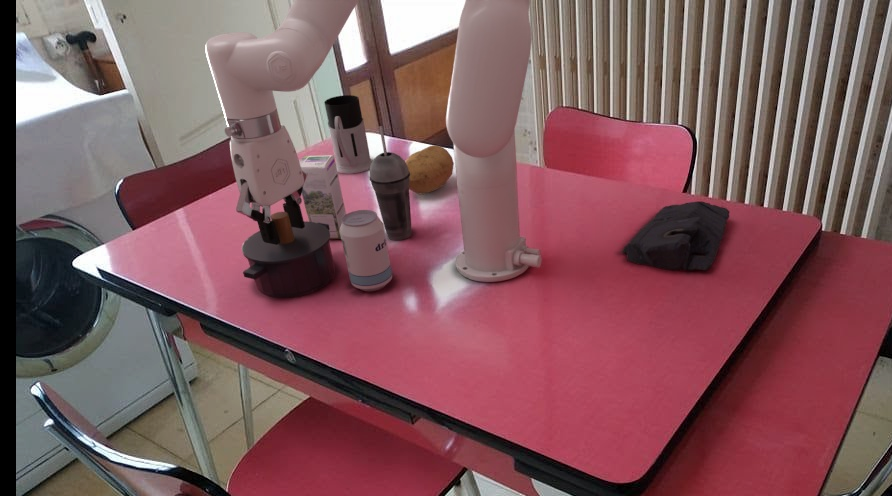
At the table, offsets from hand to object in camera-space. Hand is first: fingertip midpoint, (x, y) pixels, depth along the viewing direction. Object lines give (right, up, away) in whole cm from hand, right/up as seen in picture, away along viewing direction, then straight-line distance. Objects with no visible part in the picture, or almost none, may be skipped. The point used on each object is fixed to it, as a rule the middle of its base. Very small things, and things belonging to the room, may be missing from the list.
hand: (284, 233), depth 113 cm
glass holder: (+2, +22, +44) cm, 49 cm away
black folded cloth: (+67, 0, +6) cm, 67 cm away
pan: (+1, -7, +5) cm, 8 cm away
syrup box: (+3, +3, +18) cm, 19 cm away
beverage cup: (+17, +3, +16) cm, 23 cm away
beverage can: (+14, -8, +1) cm, 17 cm away
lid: (0, -1, +1) cm, 2 cm away
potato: (+21, +15, +32) cm, 41 cm away
